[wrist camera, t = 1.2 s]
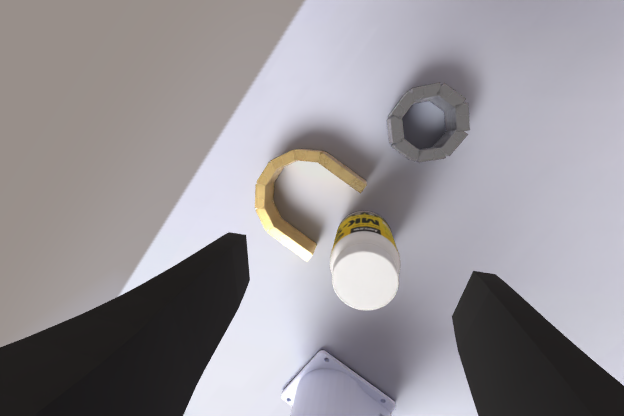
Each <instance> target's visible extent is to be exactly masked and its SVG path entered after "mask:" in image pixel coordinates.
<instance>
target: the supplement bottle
mask: <svg viewBox="0 0 624 416" xmlns="http://www.w3.org/2000/svg"><path fill="white" fill-rule="evenodd" d="M330 269H331V273H332V284H333V288H334V291H335V292H336V294H337V296H338V297H339V298H340V299H341V300H342V301H343V302H344V303H345V304H347V305H348V306H350V307H352V308H355V309H358V310H375V309H379V308H381V307H383V306H385V305H387V304H388V303H389V302H390V301H391V300H392V299H393V298H394V296H395V295H396V293H397V290H398V286H399V276H398V275H399V272H400V257H399V253H398V250H397V248H396V245H395V242H394V239H393V236H392V233H391V230H390V227H389V225H388V224H387V222H386V221H385V220H384V219H383V218H382V217H381V216H379V215H378V214H376V213H373V212H369V211H359V212H355V213H352V214H350V215H349V216H347V217H346V218H345V219H344V220H343V221H342V222H341V223H340V225H339V227H338V230H337V234H336V237H335V241H334V245H333V248H332V252H331V256H330Z"/></svg>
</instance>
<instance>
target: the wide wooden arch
mask: <svg viewBox="0 0 624 416" xmlns="http://www.w3.org/2000/svg"><path fill="white" fill-rule="evenodd" d="M298 160H300V161H310V162H318V163H319V164H321V165H322V166H323V167H325V168H326V169H328V170H329V171H330V172H332V173H333V174H334V175H336V176H337V177H339V178H340V179H341V180H343V181H344V182H345V183H347V184H348V185H350V186H351V187H352V188H354V189H355V190H356V191H358V192H359V193H361V192H362V191H363V190H364V188H365V187H366V186H367V183H366V180H364V179H363V178H362V177H360V176H359V175H357V174H356V173H355V172H353V171H352V170H351V169H349V168H348V167H346V166H345V165H344V164H342V163H341V162H340V161H338V160H337V159H336V158H334V157H333V156H331V155H330V154H329V153H327V152H324V151H319V150H309V149H295V150H291V151H289V152H287V153H285V154H283V155H281V156H279V157H277V158H275V159H273V160H271V162H269V163H268V165H267V166H266V168H265V169H264V171H263V172H262V174H261V176H260V177H259V179H258V180H257V184H256V191H255V208H257V209H256V212H257V214H258V216H259V218H260V220H261V222H262V224H263V226H264V228H265V230H266V231H267V230H269V231H268V232H267V233H269V234H270V235H271V236H273V237H274V238H276V239H277V240H278V241H280V242H281V243H282V244H284V245H285V246H287V247H288V248H289V249H291V250H292V251H293V252H295V253H296V254H298V255H299V256H300V257H302V258H303V259H304V260H306V261H308V260H309V259H310V258H311V256H312V255H313V253H314V250H315V248H316V246H317V244H316V243H315V242H314V241H312V240H311V239H309V238H308V237H307V236H305V235H304V234H303V233H301V232H300V231H298V230H297V229H296V228H294V227H293V226H292V225H290V224H289V223H287V222H286V221H285V220H283V219H282V218H281V216H280V214H279V212H278V210H277V208H276V206H275V204H274V202H273V198H274V182H275V181H276V179H277V178H278V176H279V175H280V173H281V172H282V170H283V168H284V167H285V166H287V165H289V164H291V163H293V162H296V161H298Z"/></svg>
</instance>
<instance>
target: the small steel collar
mask: <svg viewBox="0 0 624 416" xmlns="http://www.w3.org/2000/svg"><path fill="white" fill-rule="evenodd" d="M465 100H466V98H464V97H463V96H462V95H460V94H459V93H457V92H456V91H455V90H453V89H452V88H451V87H449V86H448V85H446V84H445V83H444V84H443V85H441V86H440V82H439V83H434V84H430V85H425V86H420V87H415V88H412V89H411V90H410V91H408V92H407V93H406V94H405V95H404V96H403V97H402V98H401V100H400V101H399V102H398V104H397V105H396V106H395V108H394V109H393V110H392V112H391V113H390V114H389V116H388V117H389V119H388V120H387V128H388V136H389V143H393V145H392V146H391V147H392V148H394V149H395V150H397V151H398V152H399V153H401V154H402V155H403V156H405V157H406V158H408V159H409V160H412V161H416V162H425V161H431V160H437V159H444V158H446V156H450V155H451V154H452V153H453V151H454V150H455V149H456V148H457V147H458V146H459V144H460V143H461V142H462V141H463V140H464V139H465V137H466V136H467V135H468V134H467V133H466V132H464V131H467V130H470V127H469V108H468V103H464V104H462V103H463V102H464V101H465ZM426 101H430V102H431V103H433V104H434V105H436V106H437V107H438V108H440V109H441V110H442V111H444V114H445V128H446V131H445V133H444V134H443V135H442V136H441V138H440V139H439V140H438V141H437V142H436V144H435V145H434V146H433V147H429V148H423V149H417V148H416V147H415V146H413V145H412V144H411V143H409V142H408V141H406V140H405V139H404V131H403V121H402V118H403V116H404V115H405V114H406V112H407V111H408V110H409V108H410V107H411V106H412V104H416V103H421V102H426ZM445 155H446V156H445Z"/></svg>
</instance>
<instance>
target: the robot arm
mask: <svg viewBox="0 0 624 416" xmlns="http://www.w3.org/2000/svg"><path fill="white" fill-rule="evenodd" d="M249 281H250V277H249V265H248V253H247V241H246V235H242V234H236V233H230V232H229V233H227V234H225V235H224V236H222V237H220V238H219V239H217V240H215V241H214V242H212V243H211V244H209V245H207V246H206V247H204V248H203V249H201V250H199V251H198V252H196V253H195V254H193V255H191V256H190V257H188V258H186V259H185V260H183V261H182V262H180V263H178V264H177V265H175V266H173V267H172V268H170V269H168V270H166V271H165V272H163V273H161V274H159V275H158V276H156V277H154V278H152V279H150V280H149V281H147V282H145V283H143V284H142V285H140V286H138V287H136V288H134V289H132V290H130V291H129V292H127V293H125V294H123V295H121V296H119V297H117V298H115V299H113V300H111V301H109V302H107V303H104V304H102V305H100V306H98V307H96V308H94V309H92V310H90V311H88V312H85V313H83V314H81V315H79V316H76V317H74V318H72V319H69V320H67V321H64V322H62V323H60V324H58V325H55V326H53V327H50V328H48V329H46V330H43V331H41V332H39V333H36V334H34V335H31V336H29V337H26V338H24V339H21V340H19V341H16V342H14V343H11V344H8V345H6V346H3V347H0V416H183V414H184V412H185V410H186V408H187V405H188V403H189V401H190V399H191V396H192V394H193V392H194V390H195V387H196V385H197V383H198V381H199V379H200V378H201V376H202V374H203V372H204V370H205V368H206V366H207V364H208V363H209V361H210V359H211V357H212V355H213V354H214V352H215V350H216V348H217V346H218V344H219V343H220V341H221V339H222V337H223V335H224V334H225V332H226V330H227V328H228V326H229V325H230V323H231V321H232V319H233V317H234V315H235V313H236V312H237V310H238V308H239V306H240V303H241V301H242V298H243V296H244V294H245V291H246V288H247V286H248V283H249ZM452 319H453V325H454V332H455V337H456V342H457V347H458V352H459V355H460V358H461V362H462V365H463V368H464V371H465V375H466V378H467V381H468V384H469V387H470V390H471V394H472V397H473V400H474V403H475V406H476V409H477V413H478V416H624V386H623V385H622V384H621V383H620V382H618V381H617V380H616V379H615V378H614V377H612V376H611V375H610V374H609V373H608V372H606V371H605V370H604V369H603V368H602V367H600V366H599V365H598V364H597V363H595V362H594V361H593V360H592V359H591V358H590V357H588V356H587V355H586V354H585V353H584V352H583V351H581V350H580V349H579V348H578V347H577V346H576V345H574V344H573V343H572V342H571V341H570V340H569V339H568V338H566V337H565V336H564V335H563V334H562V333H561V332H560V331H559V330H557V329H556V328H555V327H554V326H553V325H552V324H551V323H550V322H548V321H547V320H546V319H545V318H544V317H543V316H542V315H541V314H540V313H539V312H537V311H536V310H535V309H534V308H533V307H532V306H531V305H530V304H529V303H527V302H526V301H525V300H524V299H523V298H522V297H521V296H520V295H519V294H518V293H516V292H515V291H514V290H513V289H512V288H511V287H510V286H509V285H507V284H506V283H505V282H504V281H503V280H502V279H500V278H499V277H498V276H497V275H495V274H490V273H483V272H477V271H473V273H472V275H471V277H470V279H469V281H468V284H467V286H466V288H465V290H464V292H463V294H462V296H461V298H460V301H459V303H458V305H457V307H456V309H455V311H454V313H453V316H452ZM325 358H328V359H325ZM281 398H282V399H283V400H284V401H286V402H287V403H288V404H290V405H291V406H292V409H291V413H290V416H391V412H392V411H393V410H395V408H396V403H395V401H393V400H392V399H391V398H389V397H388V396H387V395H385V394H384V393H382V392H381V391H380V390H378V389H377V388H376V387H374V386H373V385H371V384H370V383H369V382H367V381H366V380H365V379H363V378H362V377H360V376H359V375H358V374H356V373H355V372H354V371H352V370H351V369H349V368H348V367H347V366H345V365H344V364H343V363H341V362H340V361H338V360H337V359H336V358H334V357H333V356H332V355H330V354H329V353H327V352H326V351H324V350H320V351H319V352H318V353H317V354H316V355H315V356H314V357H313V359H312V360H311V361H310V362H309V363H308V364H307V365H306V366H305V367H304V368H303V369H302V371H301V372H300V373H299V374H298V375H297V376H296V377H295V378H294V379H293V380H292V381H291V383H290V384H289V385H288V386H287V387H286V388H285V389H284V390H283V391H282V393H281Z"/></svg>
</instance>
